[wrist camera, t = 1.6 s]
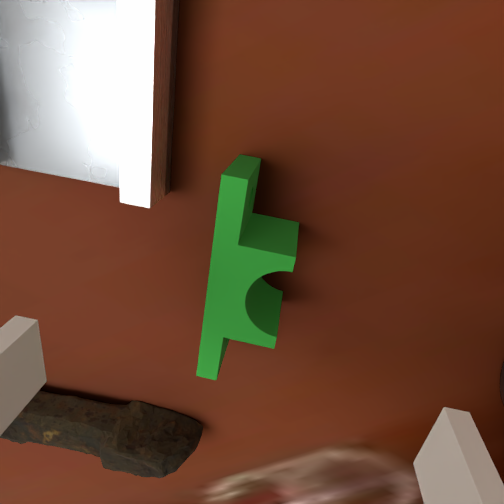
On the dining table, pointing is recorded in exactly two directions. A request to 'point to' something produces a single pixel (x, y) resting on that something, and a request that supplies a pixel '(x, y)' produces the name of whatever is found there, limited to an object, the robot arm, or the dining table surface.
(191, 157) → the dining table surface
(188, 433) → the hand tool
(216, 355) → the pipe clamp
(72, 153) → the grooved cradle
